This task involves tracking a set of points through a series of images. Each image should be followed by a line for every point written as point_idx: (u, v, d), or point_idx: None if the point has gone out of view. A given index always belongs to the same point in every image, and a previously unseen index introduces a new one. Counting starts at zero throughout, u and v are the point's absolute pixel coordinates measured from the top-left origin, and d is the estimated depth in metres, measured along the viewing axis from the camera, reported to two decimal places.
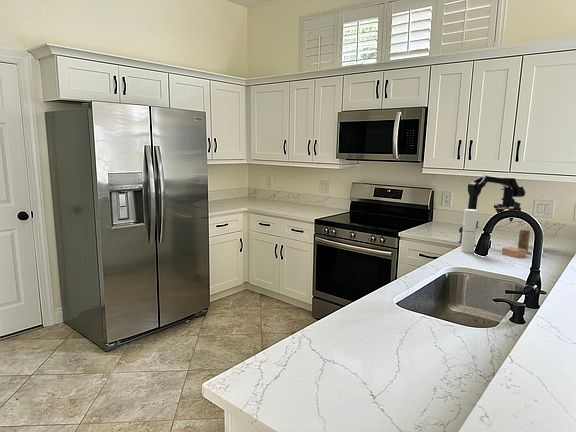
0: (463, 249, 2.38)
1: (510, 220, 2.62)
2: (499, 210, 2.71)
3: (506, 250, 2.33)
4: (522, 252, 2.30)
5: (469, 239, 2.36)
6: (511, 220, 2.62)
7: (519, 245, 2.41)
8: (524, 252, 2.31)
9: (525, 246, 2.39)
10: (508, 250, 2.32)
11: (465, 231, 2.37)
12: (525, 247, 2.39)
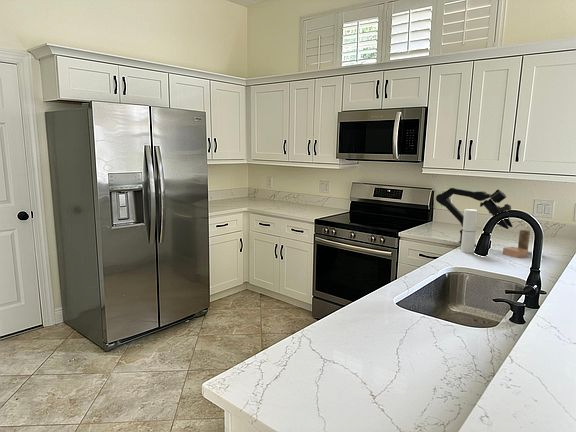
0: (463, 249, 2.38)
1: (506, 228, 2.43)
2: None
3: (507, 250, 2.33)
4: (524, 252, 2.30)
5: (469, 239, 2.36)
6: (507, 227, 2.42)
7: (519, 245, 2.41)
8: (525, 252, 2.31)
9: (525, 246, 2.39)
10: (509, 250, 2.32)
11: (465, 231, 2.37)
12: (525, 247, 2.39)
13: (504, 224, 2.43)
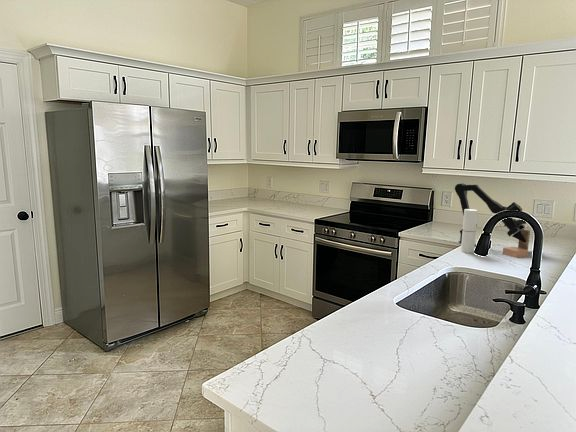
0: (463, 249, 2.38)
1: (523, 241, 2.39)
2: None
3: (507, 250, 2.33)
4: (523, 252, 2.30)
5: (469, 239, 2.36)
6: (524, 240, 2.39)
7: (519, 245, 2.41)
8: (525, 252, 2.30)
9: (525, 246, 2.39)
10: (509, 250, 2.32)
11: (465, 231, 2.37)
12: (525, 247, 2.39)
13: (521, 237, 2.39)
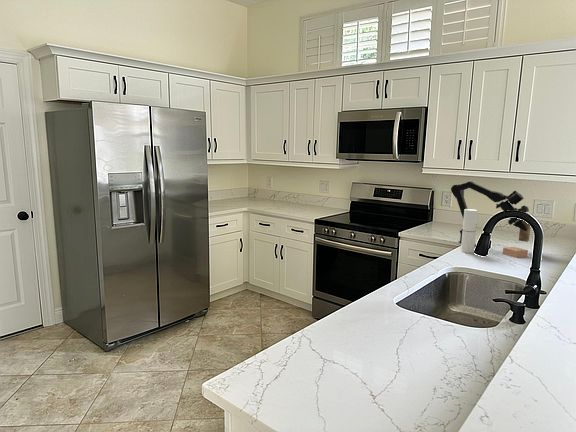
0: (463, 249, 2.38)
1: (524, 230, 2.38)
2: None
3: (506, 250, 2.33)
4: (523, 252, 2.30)
5: (469, 239, 2.36)
6: (525, 229, 2.37)
7: (520, 234, 2.40)
8: (525, 252, 2.30)
9: (526, 235, 2.38)
10: (508, 250, 2.32)
11: (465, 231, 2.37)
12: (526, 236, 2.38)
13: (522, 226, 2.38)
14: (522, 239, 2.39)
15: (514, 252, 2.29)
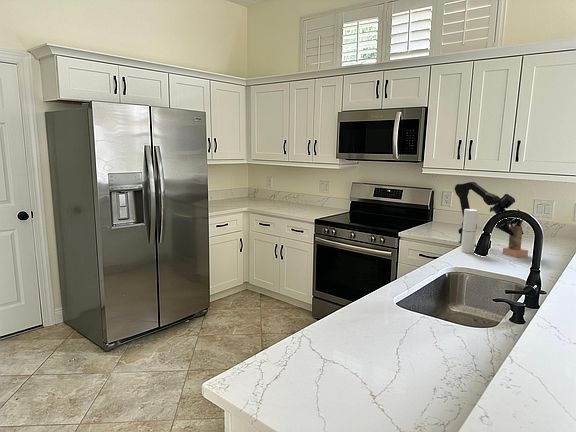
0: (463, 249, 2.38)
1: None
2: None
3: (506, 250, 2.33)
4: (523, 253, 2.29)
5: (469, 239, 2.36)
6: (511, 234, 2.29)
7: (510, 242, 2.33)
8: (525, 252, 2.30)
9: (515, 243, 2.30)
10: (508, 250, 2.32)
11: (465, 231, 2.37)
12: (515, 244, 2.30)
13: (509, 230, 2.29)
14: (511, 247, 2.32)
15: (514, 252, 2.29)
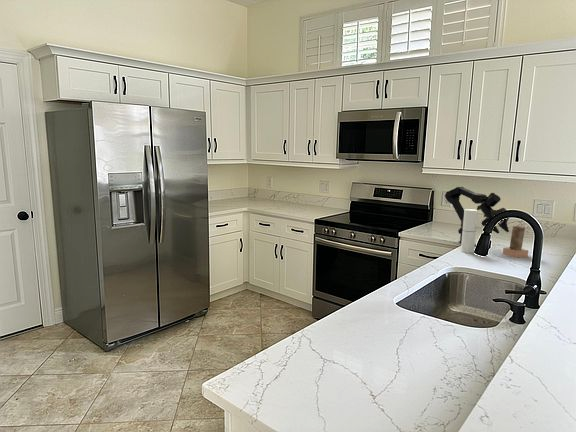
0: (463, 249, 2.38)
1: (496, 232, 2.37)
2: (500, 224, 2.45)
3: (507, 250, 2.33)
4: (523, 253, 2.29)
5: (469, 239, 2.36)
6: (497, 231, 2.36)
7: (511, 241, 2.32)
8: (525, 252, 2.30)
9: (517, 243, 2.30)
10: (508, 250, 2.32)
11: (465, 231, 2.37)
12: (517, 244, 2.30)
13: (494, 228, 2.37)
14: (513, 247, 2.32)
15: (514, 252, 2.29)
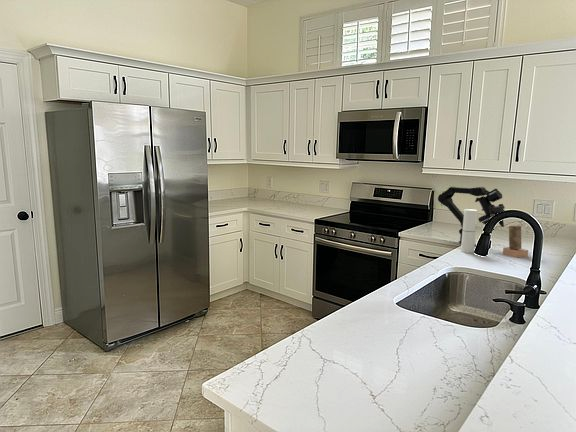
0: (463, 249, 2.38)
1: None
2: None
3: (507, 250, 2.33)
4: (523, 253, 2.30)
5: (469, 239, 2.36)
6: None
7: (510, 242, 2.33)
8: (525, 252, 2.30)
9: (515, 242, 2.30)
10: (508, 250, 2.32)
11: (465, 231, 2.37)
12: (516, 243, 2.30)
13: None
14: (512, 247, 2.32)
15: (514, 252, 2.29)
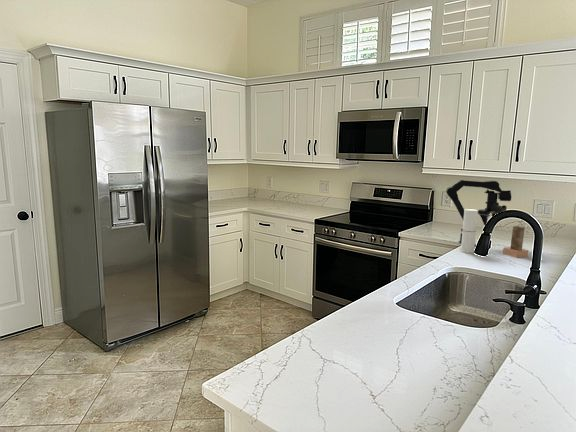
0: (463, 249, 2.38)
1: (484, 223, 2.57)
2: (493, 214, 2.62)
3: (507, 250, 2.34)
4: (523, 253, 2.30)
5: (469, 239, 2.36)
6: (485, 224, 2.56)
7: (512, 242, 2.32)
8: (525, 252, 2.30)
9: (518, 243, 2.30)
10: (508, 250, 2.32)
11: (465, 231, 2.37)
12: (518, 244, 2.30)
13: (485, 220, 2.55)
14: (514, 247, 2.32)
15: (514, 252, 2.29)
